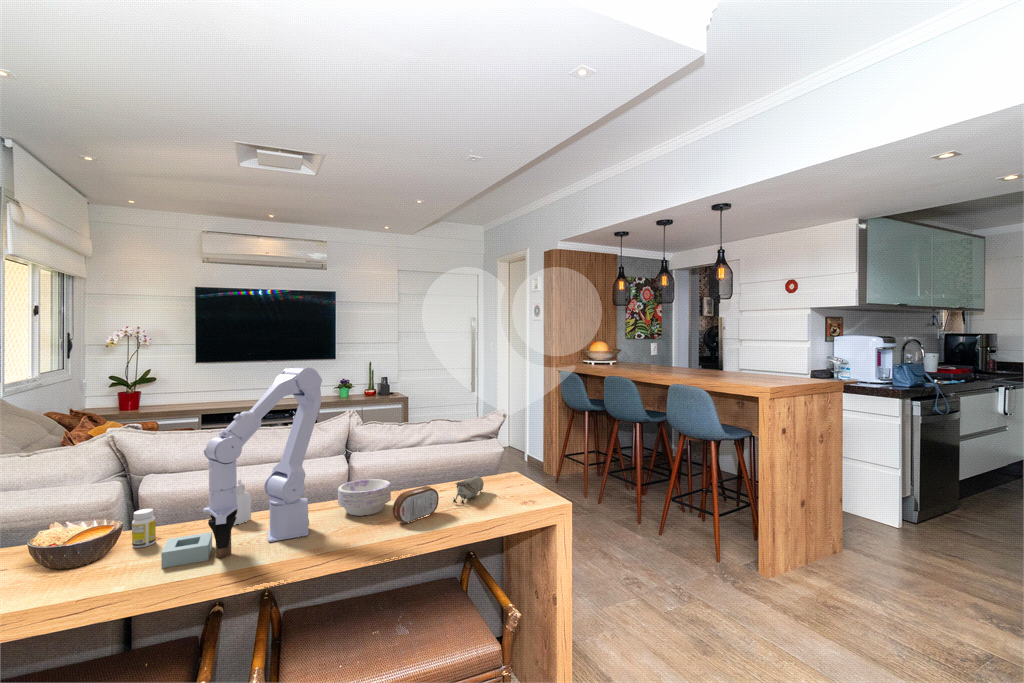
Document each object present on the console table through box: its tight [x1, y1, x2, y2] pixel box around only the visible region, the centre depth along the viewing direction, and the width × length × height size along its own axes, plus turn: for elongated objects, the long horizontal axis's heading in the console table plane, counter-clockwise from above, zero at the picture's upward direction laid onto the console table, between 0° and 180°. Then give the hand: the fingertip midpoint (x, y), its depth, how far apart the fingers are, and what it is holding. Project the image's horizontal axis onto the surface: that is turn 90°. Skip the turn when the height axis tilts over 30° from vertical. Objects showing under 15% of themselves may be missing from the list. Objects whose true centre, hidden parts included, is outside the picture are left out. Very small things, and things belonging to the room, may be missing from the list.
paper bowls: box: [337, 478, 392, 517], centre depth 148 cm, size 15×15×8 cm
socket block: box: [160, 531, 213, 569], centre depth 117 cm, size 9×9×4 cm
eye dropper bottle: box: [234, 479, 252, 526], centre depth 140 cm, size 4×6×12 cm
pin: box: [215, 534, 232, 559], centre depth 118 cm, size 3×3×8 cm
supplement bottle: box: [131, 508, 157, 549], centre depth 125 cm, size 5×5×8 cm
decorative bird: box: [452, 475, 484, 505], centre depth 159 cm, size 5×16×8 cm, turn 157°
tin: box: [392, 485, 440, 524], centre depth 141 cm, size 15×3×8 cm, turn 140°
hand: (223, 545), depth 118 cm, fingers closed on pin, 3 cm apart
